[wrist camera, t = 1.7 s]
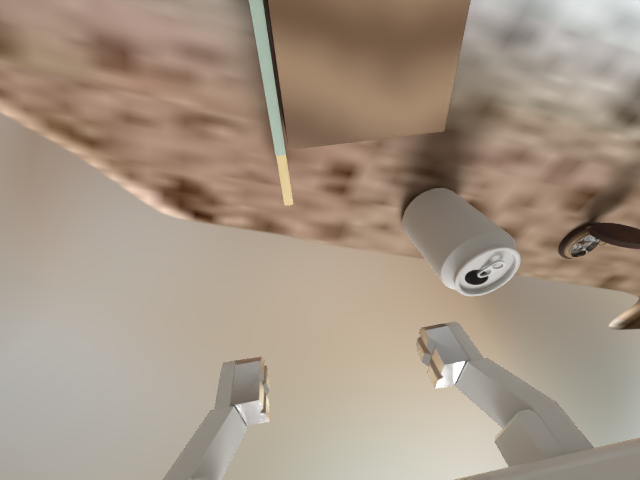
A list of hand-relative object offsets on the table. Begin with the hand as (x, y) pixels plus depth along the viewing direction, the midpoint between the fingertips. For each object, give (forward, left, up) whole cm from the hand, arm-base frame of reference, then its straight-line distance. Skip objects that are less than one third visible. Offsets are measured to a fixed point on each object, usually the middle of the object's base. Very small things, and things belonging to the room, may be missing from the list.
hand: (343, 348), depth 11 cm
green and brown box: (-11, +5, -21) cm, 24 cm away
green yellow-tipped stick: (-18, -2, -21) cm, 28 cm away
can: (+8, +16, -22) cm, 28 cm away
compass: (+17, +43, -22) cm, 51 cm away
